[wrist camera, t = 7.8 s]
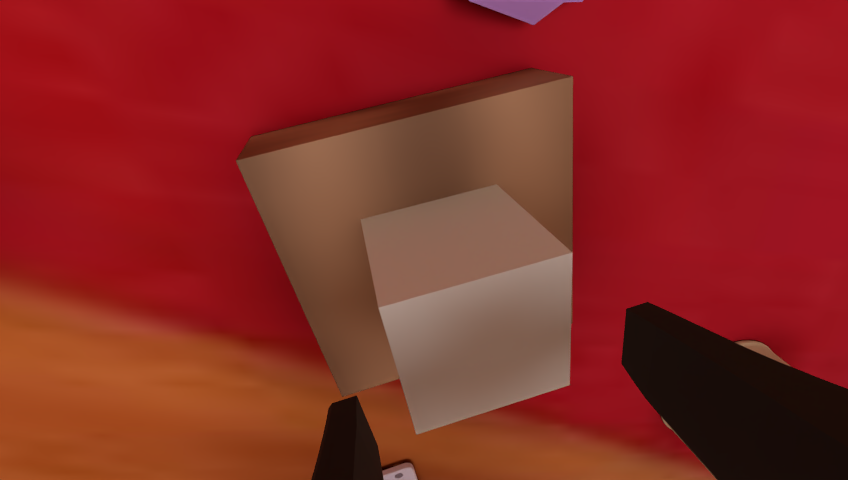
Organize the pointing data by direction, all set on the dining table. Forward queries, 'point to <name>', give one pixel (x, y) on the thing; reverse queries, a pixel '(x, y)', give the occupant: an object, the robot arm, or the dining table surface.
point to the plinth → (402, 192)
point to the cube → (471, 303)
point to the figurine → (523, 8)
